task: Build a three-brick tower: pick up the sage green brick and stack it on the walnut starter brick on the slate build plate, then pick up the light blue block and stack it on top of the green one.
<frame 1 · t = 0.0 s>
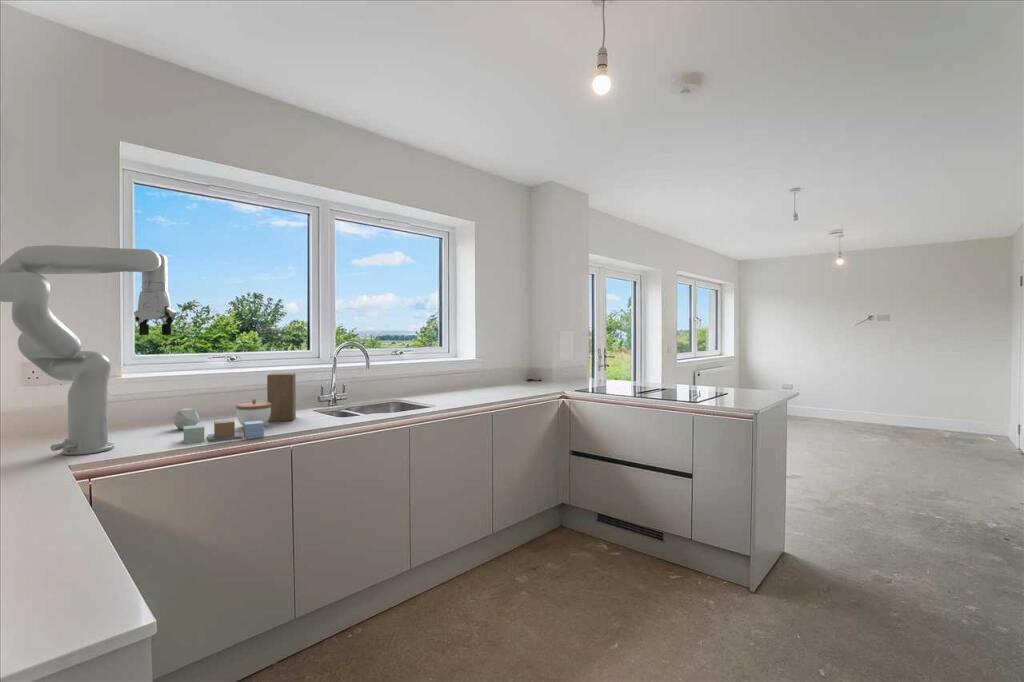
hand: (155, 335, 180), 37 cm above the counter, tool pointing down, fingers open, 9 cm apart
lidded bowl: (254, 427, 198), on the counter
light blue block: (253, 436, 181), on the counter
green brick: (193, 441, 172), on the counter
wooden block: (281, 420, 214), on the counter
die: (186, 429, 193), on the counter
tower base: (224, 437, 177), on the counter
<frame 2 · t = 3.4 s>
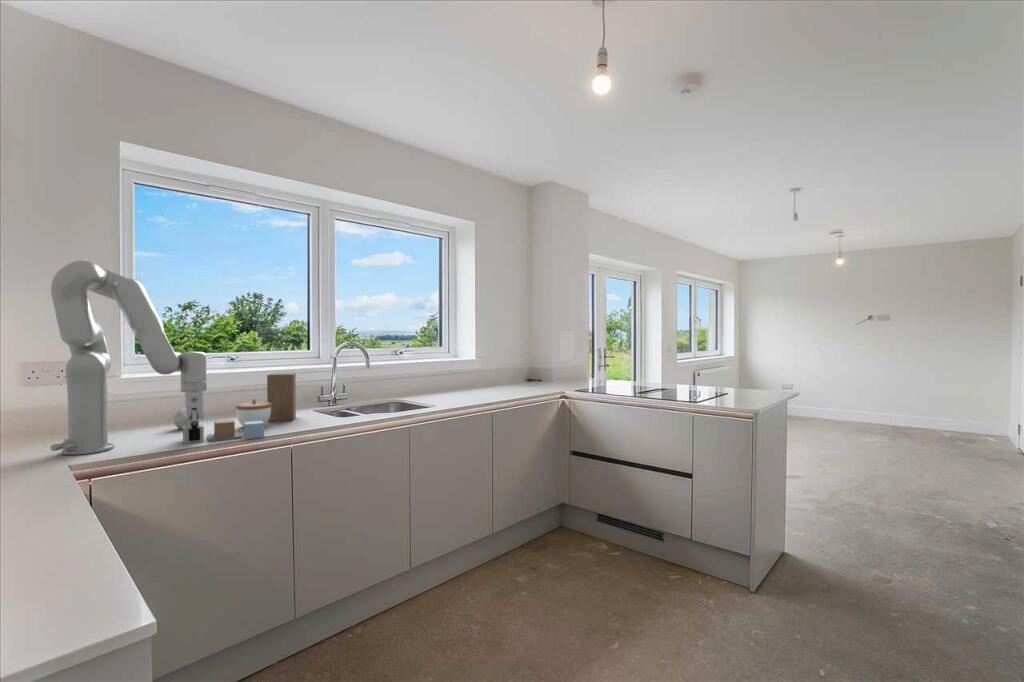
hand: (194, 438, 172), 1 cm above the counter, tool pointing down, fingers closed on green brick, 6 cm apart
green brick: (193, 440, 172), on the counter, touching gripper
everything else where it was.
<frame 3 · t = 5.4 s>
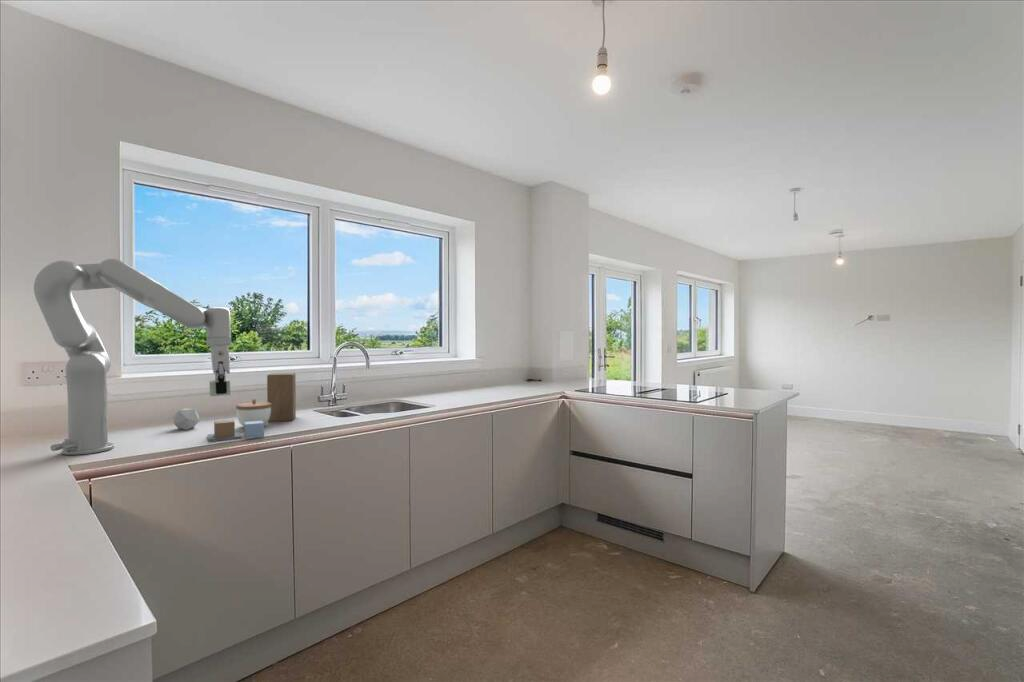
hand: (220, 392, 176), 16 cm above the counter, tool pointing down, fingers closed on green brick, 6 cm apart
green brick: (220, 394, 176), point 16 cm above the counter, touching gripper
everything else where it was.
when the fingers open (8 cm above the counter, at t = 7.4 s): green brick drops 1 cm, resting on tower base.
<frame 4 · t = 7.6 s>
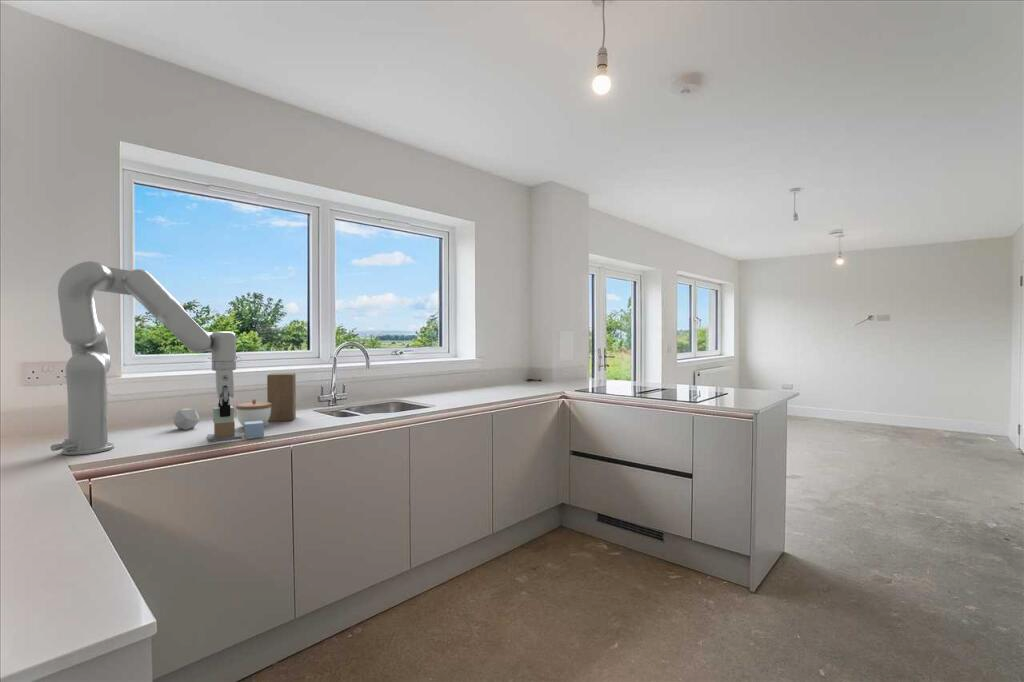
hand: (224, 414, 177), 8 cm above the counter, tool pointing down, fingers open, 7 cm apart
green brick: (223, 421, 177), point 6 cm above the counter, touching tower base
everything else where it was.
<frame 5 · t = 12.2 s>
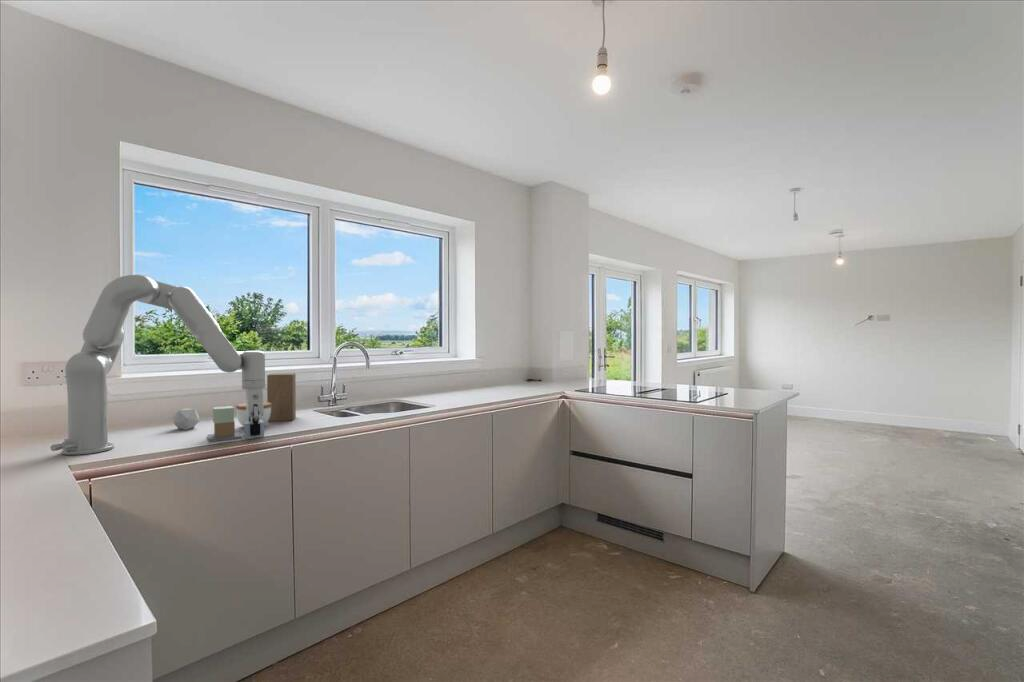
hand: (254, 433, 181), 1 cm above the counter, tool pointing down, fingers closed on light blue block, 6 cm apart
light blue block: (254, 435, 181), on the counter, touching gripper
everything else where it was.
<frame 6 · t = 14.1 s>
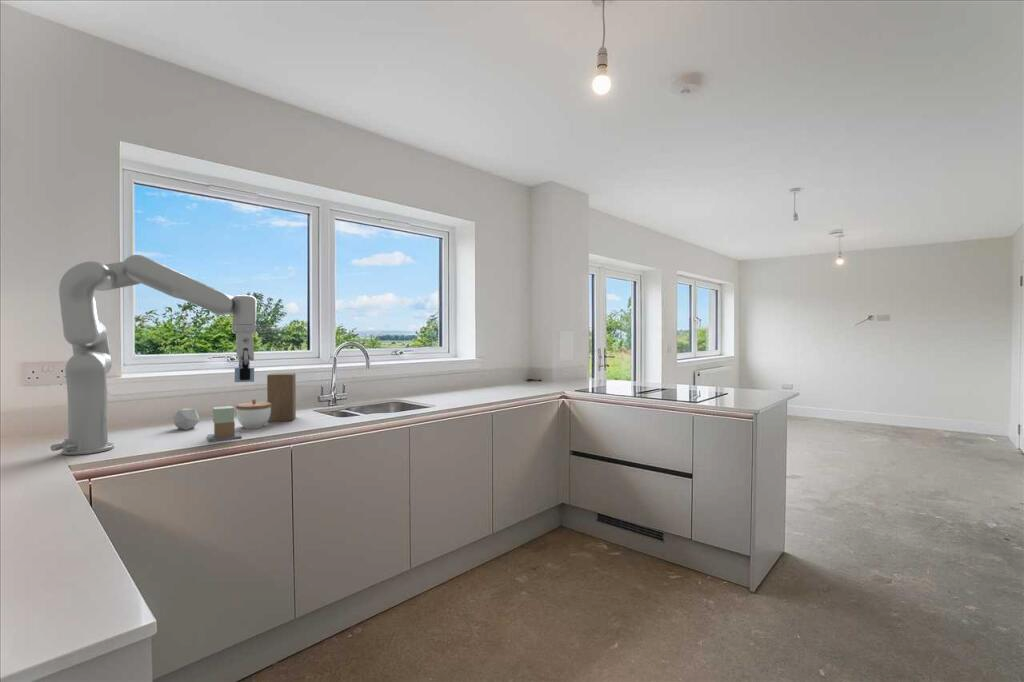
hand: (244, 378, 179), 21 cm above the counter, tool pointing down, fingers closed on light blue block, 6 cm apart
light blue block: (244, 381, 179), point 20 cm above the counter, touching gripper
everything else where it was.
when the fingers open (13 cm above the counter, at t = 16.5 s): light blue block drops 1 cm, resting on green brick.
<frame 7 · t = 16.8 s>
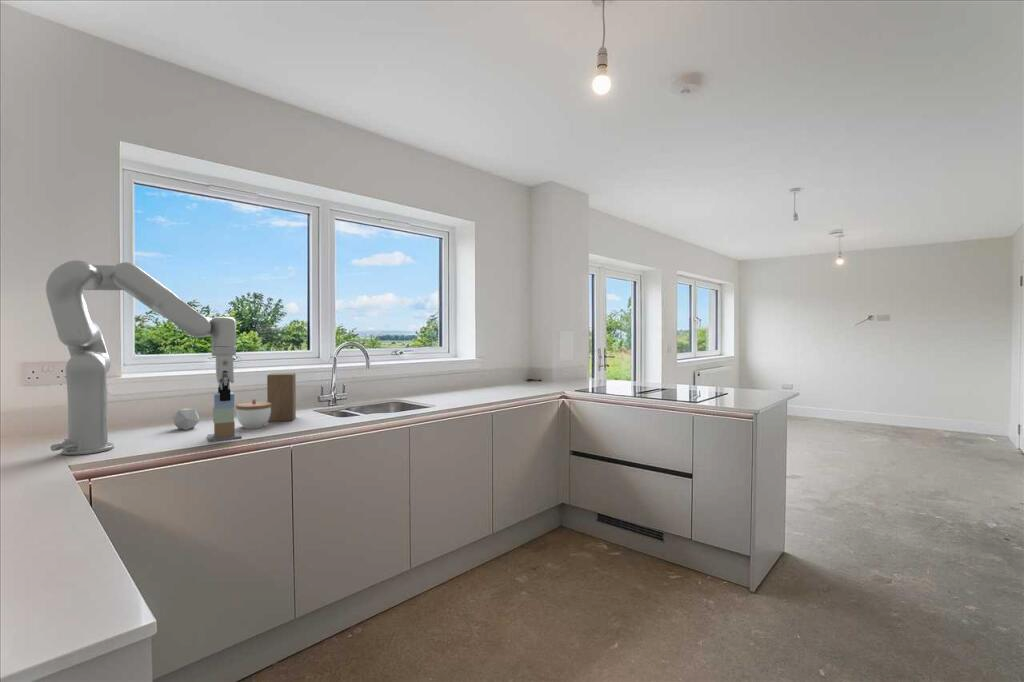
hand: (224, 399, 177), 14 cm above the counter, tool pointing down, fingers open, 9 cm apart
light blue block: (224, 407, 177), point 11 cm above the counter, touching green brick
green brick: (223, 421, 177), point 6 cm above the counter, touching light blue block, tower base
everything else where it was.
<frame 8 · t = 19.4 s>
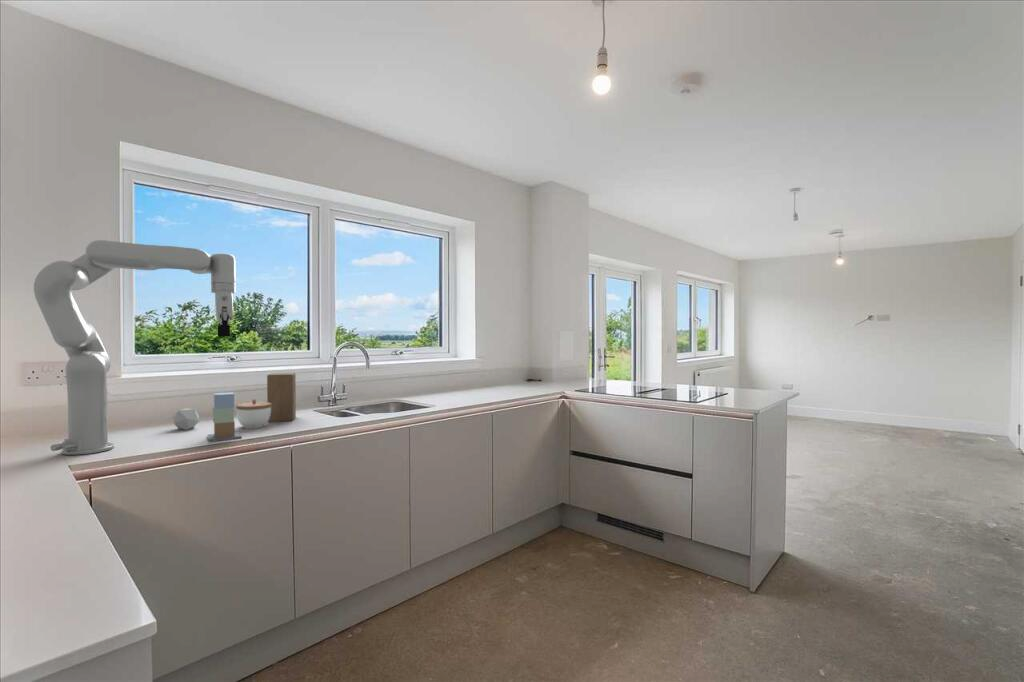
hand: (223, 336, 177), 36 cm above the counter, tool pointing down, fingers open, 9 cm apart
nothing on the counter moved.
at the end: green brick 0.3 cm off-centre on the tower base, point 5.8 cm above the tower base's base; light blue block 0.0 cm off-centre on the tower base, point 10.8 cm above the tower base's base; light blue block tilted 0° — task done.
